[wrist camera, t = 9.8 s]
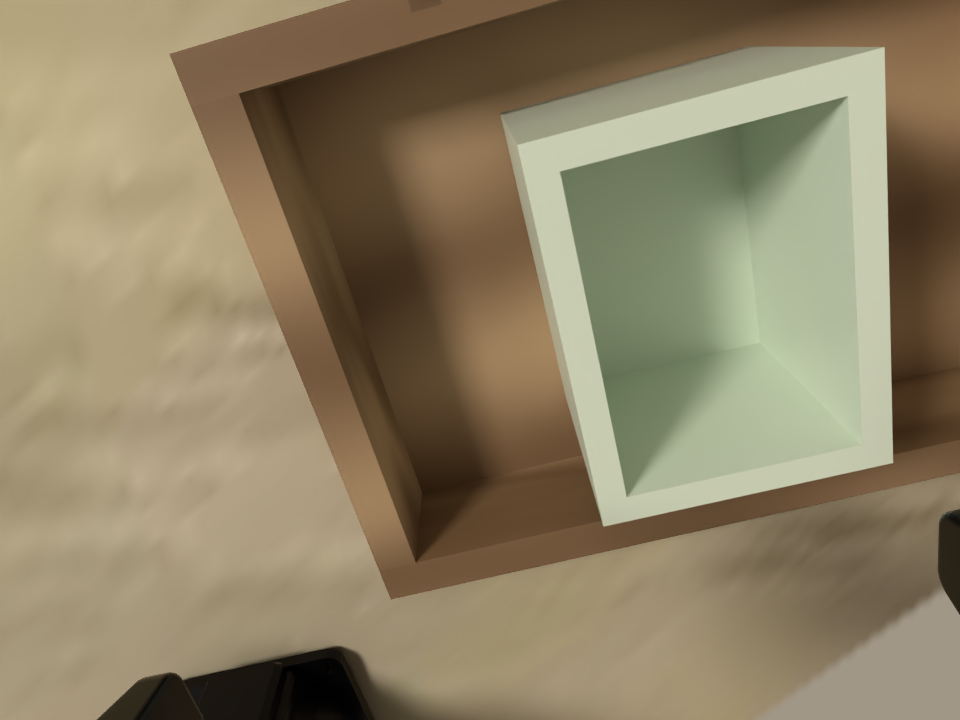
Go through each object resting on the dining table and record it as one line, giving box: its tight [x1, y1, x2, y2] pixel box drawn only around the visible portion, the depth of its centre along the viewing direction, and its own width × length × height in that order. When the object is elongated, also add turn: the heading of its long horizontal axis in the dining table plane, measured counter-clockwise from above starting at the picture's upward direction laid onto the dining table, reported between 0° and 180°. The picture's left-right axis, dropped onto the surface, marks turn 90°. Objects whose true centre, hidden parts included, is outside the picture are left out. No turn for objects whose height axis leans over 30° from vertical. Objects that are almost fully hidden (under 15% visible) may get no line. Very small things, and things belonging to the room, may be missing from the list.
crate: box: [170, 0, 960, 599], centre depth 17 cm, size 14×18×4 cm
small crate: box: [500, 46, 893, 527], centre depth 16 cm, size 8×6×6 cm
